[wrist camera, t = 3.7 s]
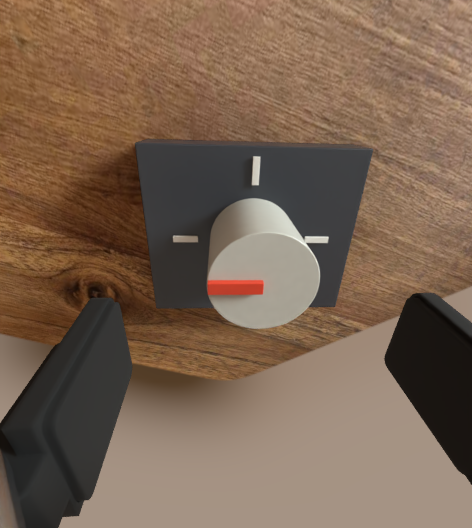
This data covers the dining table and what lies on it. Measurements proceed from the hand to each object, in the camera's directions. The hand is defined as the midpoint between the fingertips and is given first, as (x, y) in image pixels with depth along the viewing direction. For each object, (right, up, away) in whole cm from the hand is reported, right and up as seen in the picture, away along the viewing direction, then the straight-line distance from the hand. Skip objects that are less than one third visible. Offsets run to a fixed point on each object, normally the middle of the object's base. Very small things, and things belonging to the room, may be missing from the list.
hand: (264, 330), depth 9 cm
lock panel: (0, +5, +9) cm, 10 cm away
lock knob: (0, +4, +7) cm, 8 cm away
